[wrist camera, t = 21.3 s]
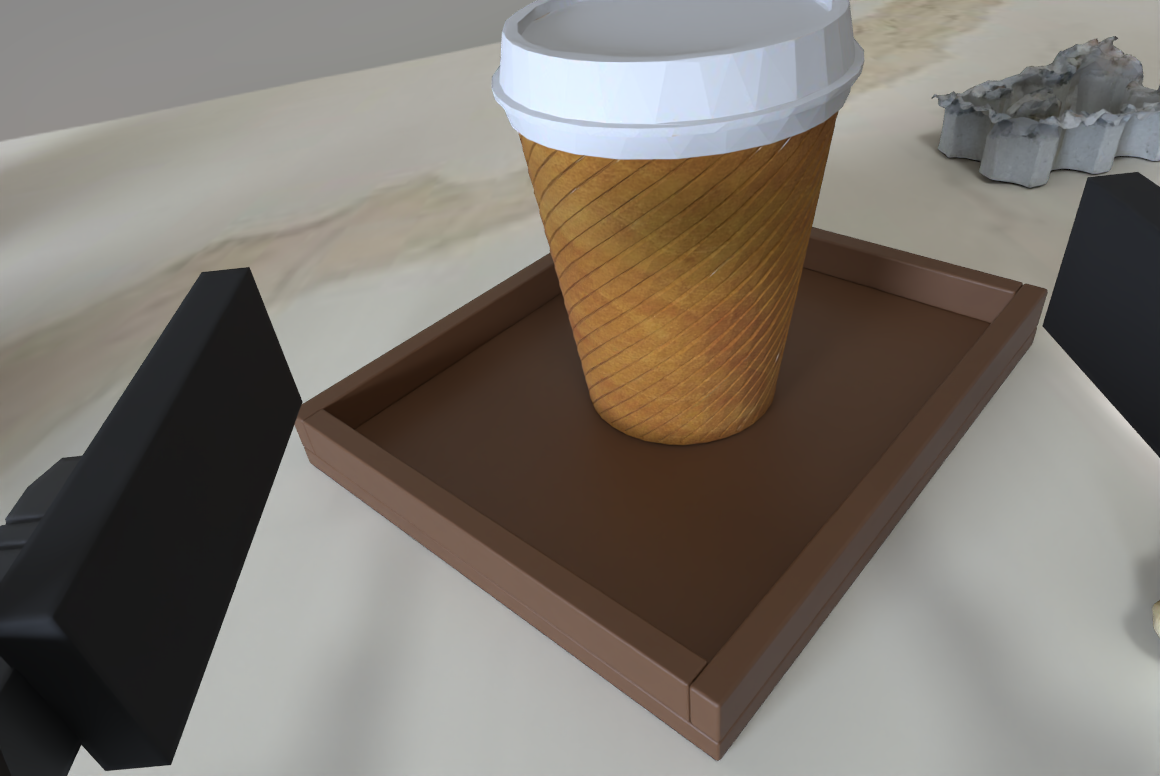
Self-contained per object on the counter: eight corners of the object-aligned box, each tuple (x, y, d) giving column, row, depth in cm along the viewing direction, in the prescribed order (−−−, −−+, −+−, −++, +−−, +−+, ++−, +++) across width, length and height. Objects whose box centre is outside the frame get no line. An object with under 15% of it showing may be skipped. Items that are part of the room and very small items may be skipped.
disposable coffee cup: (828, 316, 30) (866, -43, 23) (822, 500, 23) (876, 64, 16) (580, 303, 33) (542, -26, 25) (506, 466, 25) (423, 74, 18)
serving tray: (309, 463, 28) (288, 411, 26) (660, 231, 38) (658, 185, 37) (718, 764, 18) (719, 708, 17) (1032, 343, 29) (1049, 288, 28)
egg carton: (1097, 110, 45) (1121, 31, 42) (1206, 160, 39) (1241, 72, 36) (915, 141, 44) (928, 62, 41) (998, 197, 38) (1019, 109, 35)
